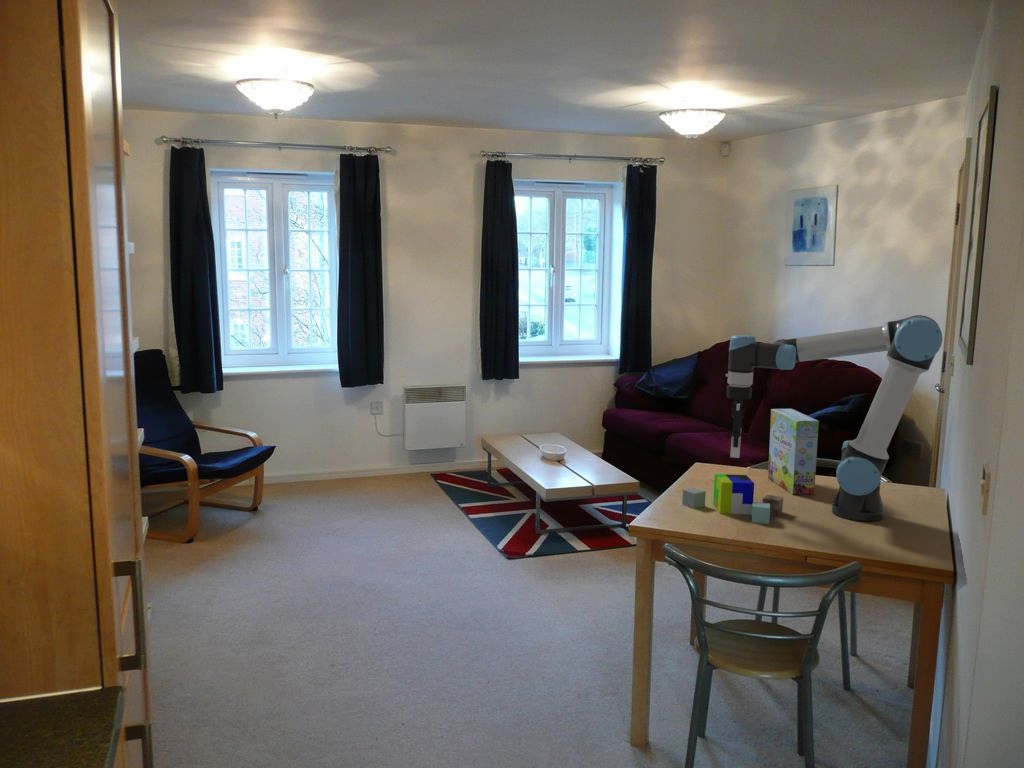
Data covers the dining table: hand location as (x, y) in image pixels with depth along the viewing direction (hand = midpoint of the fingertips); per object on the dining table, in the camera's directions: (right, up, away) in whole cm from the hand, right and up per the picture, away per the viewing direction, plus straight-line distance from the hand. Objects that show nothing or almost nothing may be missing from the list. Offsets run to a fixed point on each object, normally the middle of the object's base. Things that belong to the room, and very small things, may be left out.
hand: (735, 452), depth 265 cm
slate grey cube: (-12, -17, +6) cm, 22 cm away
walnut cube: (+11, -19, -1) cm, 22 cm away
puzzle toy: (0, -18, +3) cm, 19 cm away
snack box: (+27, -15, +30) cm, 43 cm away
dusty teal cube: (+5, -20, -9) cm, 22 cm away
